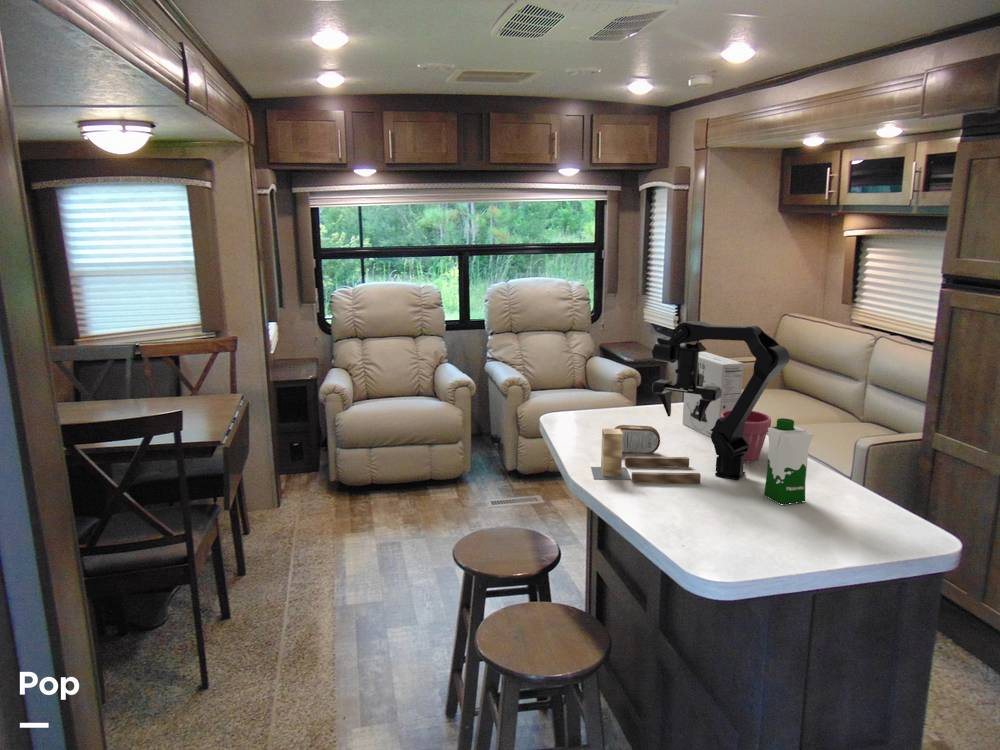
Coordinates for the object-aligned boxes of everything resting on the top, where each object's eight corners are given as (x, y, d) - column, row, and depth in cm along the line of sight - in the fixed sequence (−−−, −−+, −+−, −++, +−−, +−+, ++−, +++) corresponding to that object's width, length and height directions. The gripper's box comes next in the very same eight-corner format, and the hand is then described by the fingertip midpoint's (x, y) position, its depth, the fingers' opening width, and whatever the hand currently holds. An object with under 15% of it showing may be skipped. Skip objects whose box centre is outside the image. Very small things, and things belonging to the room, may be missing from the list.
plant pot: (760, 468, 209) (763, 424, 207) (711, 459, 217) (714, 417, 214) (773, 455, 221) (776, 413, 218) (726, 447, 228) (729, 407, 226)
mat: (626, 467, 209) (626, 467, 209) (631, 479, 199) (631, 479, 199) (590, 467, 209) (590, 466, 209) (594, 479, 199) (594, 478, 199)
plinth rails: (687, 465, 211) (688, 457, 210) (700, 483, 196) (700, 475, 196) (624, 464, 211) (625, 456, 211) (632, 482, 197) (632, 473, 196)
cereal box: (681, 423, 254) (686, 352, 249) (701, 422, 257) (705, 351, 252) (717, 441, 234) (723, 364, 229) (738, 439, 236) (744, 363, 231)
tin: (659, 452, 223) (660, 425, 221) (660, 455, 220) (661, 428, 218) (608, 450, 225) (609, 423, 223) (609, 453, 222) (610, 426, 220)
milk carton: (787, 491, 191) (794, 416, 187) (811, 503, 183) (818, 426, 179) (758, 494, 189) (764, 419, 185) (781, 507, 180) (788, 428, 176)
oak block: (618, 470, 206) (620, 428, 204) (621, 476, 201) (622, 434, 199) (600, 469, 206) (602, 428, 204) (602, 475, 202) (604, 433, 199)
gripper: (729, 364, 209) (725, 417, 213) (667, 357, 220) (664, 408, 223) (716, 371, 200) (712, 426, 204) (652, 363, 211) (649, 416, 214)
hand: (684, 418), depth 211 cm, fingers open, 9 cm apart
